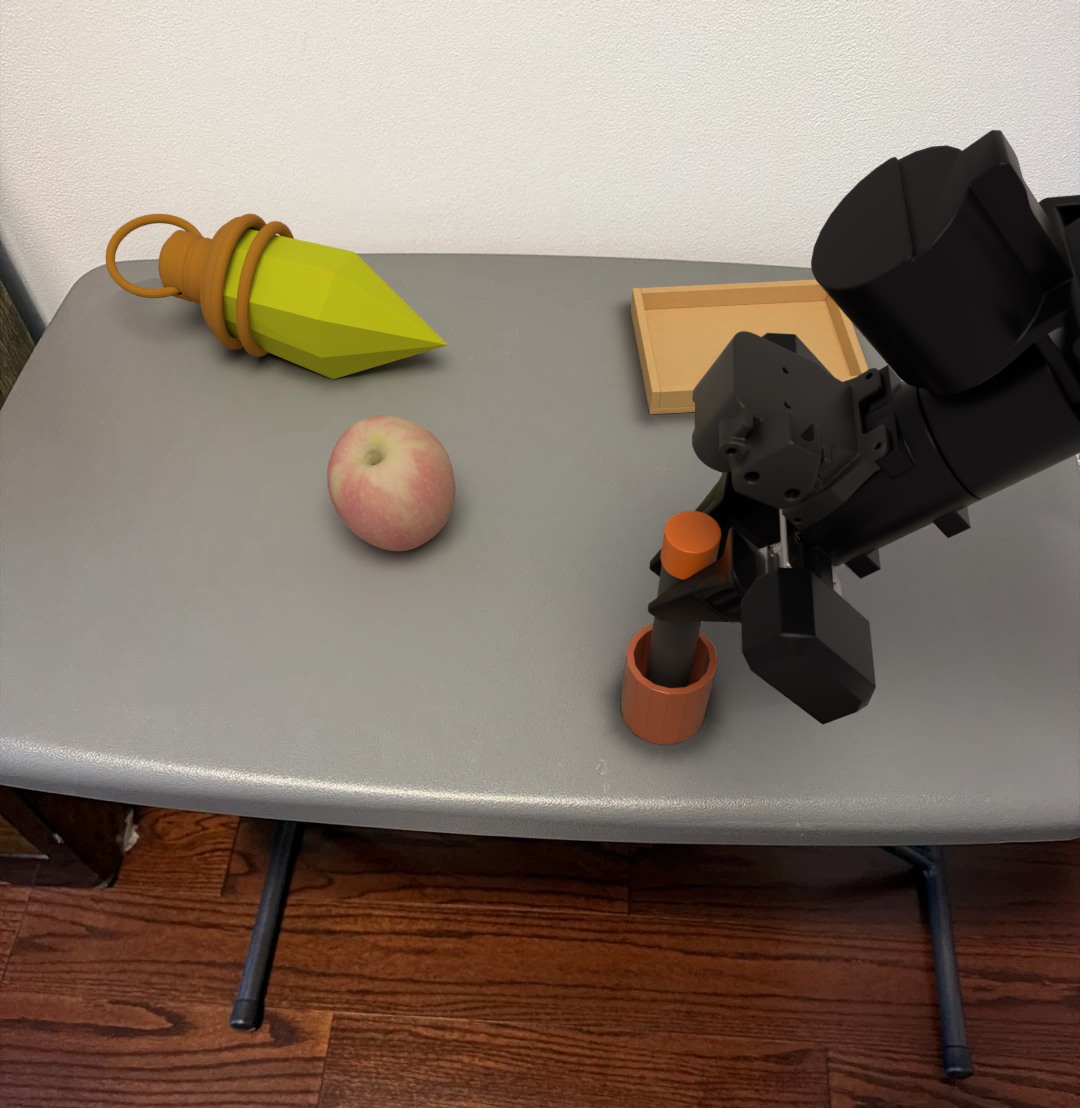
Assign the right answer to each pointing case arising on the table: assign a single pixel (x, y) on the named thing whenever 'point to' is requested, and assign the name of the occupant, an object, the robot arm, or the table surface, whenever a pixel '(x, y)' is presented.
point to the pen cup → (665, 693)
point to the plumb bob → (283, 295)
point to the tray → (731, 331)
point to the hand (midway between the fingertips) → (653, 591)
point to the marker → (682, 555)
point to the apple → (391, 482)
